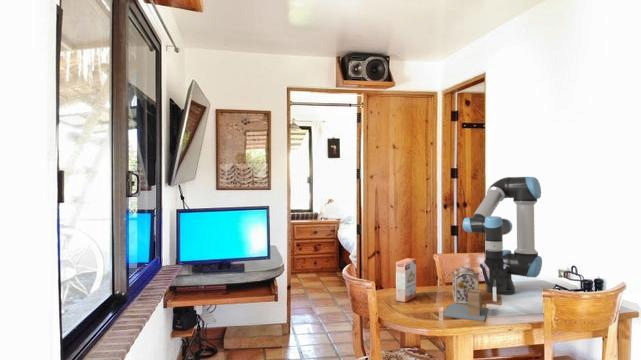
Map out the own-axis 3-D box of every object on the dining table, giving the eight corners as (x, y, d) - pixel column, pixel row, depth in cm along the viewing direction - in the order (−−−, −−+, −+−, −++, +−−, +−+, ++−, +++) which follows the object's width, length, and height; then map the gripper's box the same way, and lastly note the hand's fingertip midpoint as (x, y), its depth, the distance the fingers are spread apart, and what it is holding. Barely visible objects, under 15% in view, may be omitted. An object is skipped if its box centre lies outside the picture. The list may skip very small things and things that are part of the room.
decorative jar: (479, 305, 205) (478, 269, 205) (455, 304, 207) (454, 269, 207) (475, 298, 216) (474, 264, 216) (452, 297, 219) (452, 264, 219)
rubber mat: (450, 304, 206) (450, 303, 206) (488, 309, 198) (488, 307, 198) (442, 316, 189) (442, 315, 189) (484, 321, 180) (483, 320, 180)
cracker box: (406, 303, 210) (405, 263, 210) (395, 301, 213) (394, 261, 213) (417, 296, 221) (416, 258, 221) (407, 295, 225) (406, 257, 225)
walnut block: (470, 309, 197) (470, 288, 197) (481, 310, 194) (481, 289, 194) (468, 314, 189) (467, 293, 189) (479, 316, 186) (479, 294, 186)
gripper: (478, 250, 187) (479, 300, 187) (508, 252, 181) (509, 304, 181) (479, 247, 194) (480, 296, 194) (509, 249, 188) (510, 300, 188)
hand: (494, 300), depth 187 cm, fingers closed
